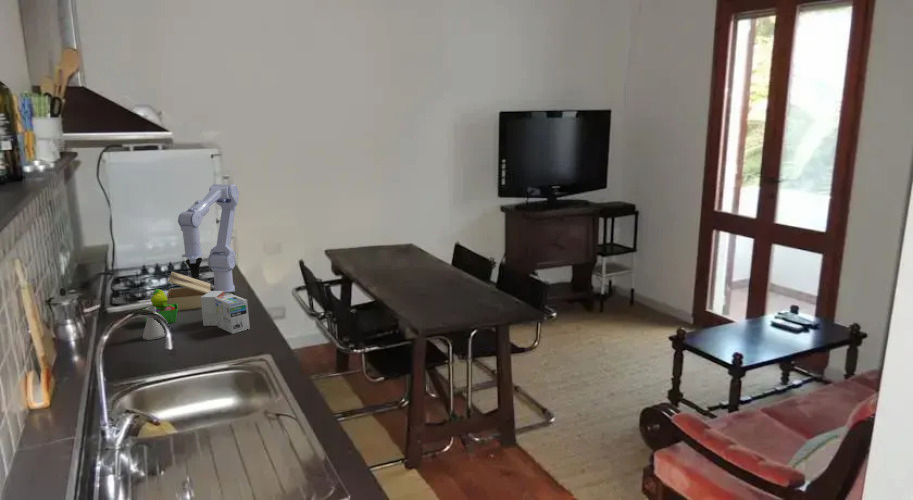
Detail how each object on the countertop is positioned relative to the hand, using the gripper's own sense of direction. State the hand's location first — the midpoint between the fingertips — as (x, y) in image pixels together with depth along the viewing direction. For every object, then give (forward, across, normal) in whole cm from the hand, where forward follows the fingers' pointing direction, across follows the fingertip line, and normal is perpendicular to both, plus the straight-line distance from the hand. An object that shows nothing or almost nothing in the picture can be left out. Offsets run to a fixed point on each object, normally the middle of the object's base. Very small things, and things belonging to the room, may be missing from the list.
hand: (195, 277), depth 247 cm
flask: (+11, +34, -12) cm, 38 cm away
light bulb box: (+11, +35, +12) cm, 39 cm away
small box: (+11, +26, +6) cm, 29 cm away
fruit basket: (+11, +18, -12) cm, 24 cm away
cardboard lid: (+2, 0, -2) cm, 3 cm away
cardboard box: (+10, 0, -3) cm, 11 cm away
